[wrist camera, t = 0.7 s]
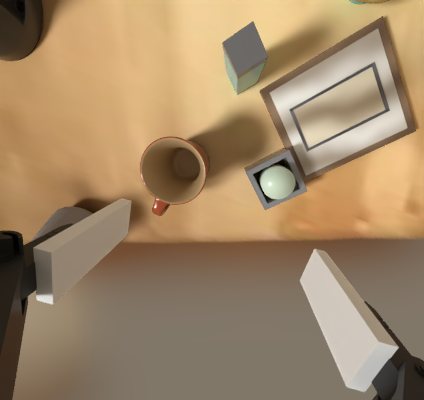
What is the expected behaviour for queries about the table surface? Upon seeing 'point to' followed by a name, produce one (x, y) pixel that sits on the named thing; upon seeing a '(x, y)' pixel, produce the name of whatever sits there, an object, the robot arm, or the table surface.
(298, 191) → the button frame
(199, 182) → the mug
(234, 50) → the grey and mint block
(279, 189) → the button
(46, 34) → the table surface
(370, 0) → the donut
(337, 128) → the picture frame
